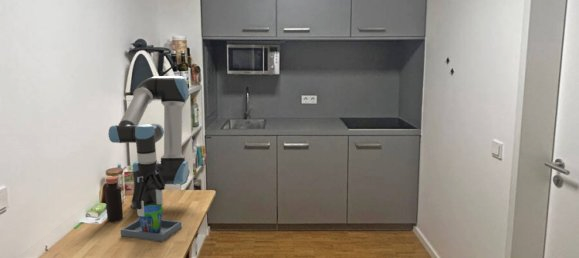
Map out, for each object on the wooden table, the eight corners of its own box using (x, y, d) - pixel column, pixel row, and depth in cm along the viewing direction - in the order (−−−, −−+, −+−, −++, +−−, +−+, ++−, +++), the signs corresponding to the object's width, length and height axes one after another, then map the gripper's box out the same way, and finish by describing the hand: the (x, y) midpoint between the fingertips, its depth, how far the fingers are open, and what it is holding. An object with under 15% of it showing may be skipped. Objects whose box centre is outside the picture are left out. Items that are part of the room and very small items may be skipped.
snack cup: (135, 227, 198) (134, 205, 196) (160, 223, 202) (158, 201, 201) (141, 240, 184) (140, 216, 182) (167, 235, 189) (166, 212, 187)
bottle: (113, 216, 212) (109, 175, 209) (126, 217, 211) (122, 176, 208) (104, 221, 206) (100, 179, 202) (117, 222, 205) (114, 180, 201)
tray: (142, 223, 204) (142, 217, 203) (181, 228, 198) (181, 221, 197) (121, 236, 189) (120, 229, 189) (162, 242, 184) (162, 235, 183)
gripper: (156, 153, 201) (159, 199, 205) (120, 169, 177) (124, 220, 182) (171, 154, 199) (174, 200, 203) (136, 170, 175) (140, 222, 179)
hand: (150, 209), depth 192 cm, fingers open, 13 cm apart
